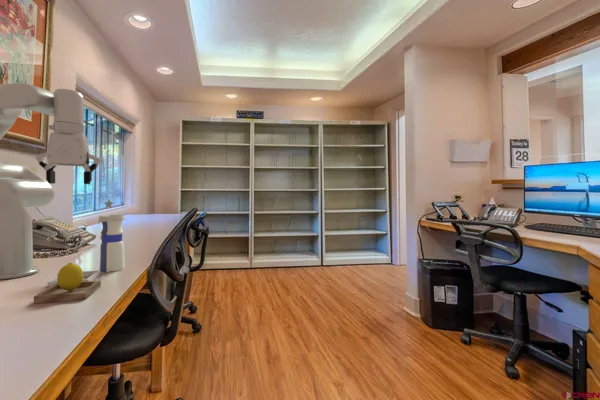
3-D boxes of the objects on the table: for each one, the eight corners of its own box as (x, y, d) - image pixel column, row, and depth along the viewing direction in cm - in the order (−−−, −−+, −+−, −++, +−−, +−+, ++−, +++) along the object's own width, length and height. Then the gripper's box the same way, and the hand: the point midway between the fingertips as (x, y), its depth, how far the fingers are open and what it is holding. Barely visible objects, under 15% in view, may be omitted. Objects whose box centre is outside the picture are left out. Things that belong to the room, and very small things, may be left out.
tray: (33, 303, 73) (33, 296, 73) (56, 289, 83) (56, 283, 83) (85, 299, 76) (85, 292, 76) (100, 286, 86) (100, 280, 86)
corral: (47, 286, 85) (47, 281, 85) (64, 276, 95) (64, 272, 95) (88, 283, 88) (88, 279, 88) (100, 274, 98) (100, 270, 98)
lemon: (68, 296, 76) (68, 266, 76) (51, 294, 78) (52, 264, 77) (88, 289, 82) (88, 261, 81) (72, 287, 83) (72, 259, 83)
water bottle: (91, 271, 102) (90, 199, 101) (113, 265, 110) (113, 199, 109) (109, 273, 100) (109, 200, 99) (130, 267, 108) (130, 199, 107)
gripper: (28, 125, 87) (29, 182, 88) (96, 129, 92) (96, 184, 93) (42, 130, 94) (43, 183, 95) (104, 134, 99) (104, 184, 100)
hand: (69, 183), depth 94 cm, fingers open, 9 cm apart
